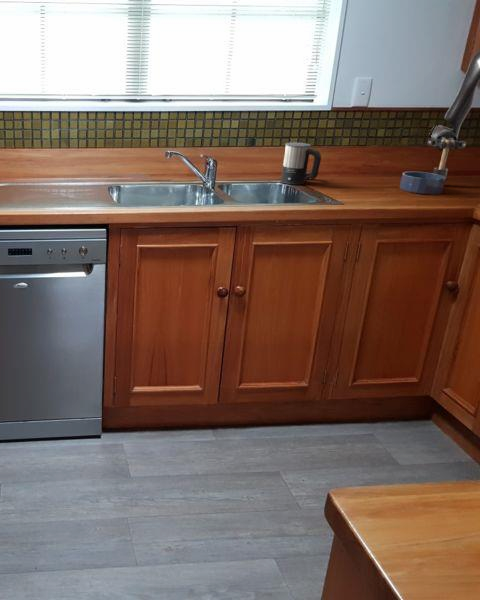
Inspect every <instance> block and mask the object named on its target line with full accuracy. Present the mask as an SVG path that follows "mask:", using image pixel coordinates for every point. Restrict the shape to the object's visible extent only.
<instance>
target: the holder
mask: <svg viewBox="0 0 480 600" xmlns="http://www.w3.org/2000/svg"><path fill="white" fill-rule="evenodd" d="M448 172H449V169H448V168H445V167H444V170H441V169H439V167H434V168H433V172H432V173H433V174H438V175H442V176H444V177H445V180H446V179H447V175H448ZM445 183H446V181H445V182H444V184H445Z"/></svg>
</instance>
